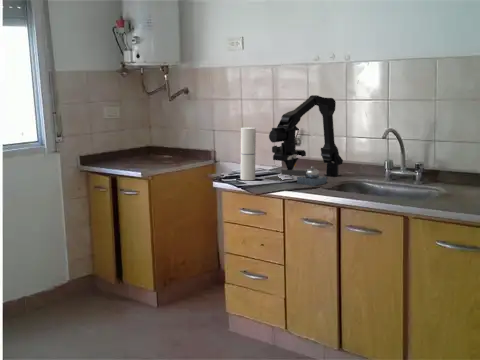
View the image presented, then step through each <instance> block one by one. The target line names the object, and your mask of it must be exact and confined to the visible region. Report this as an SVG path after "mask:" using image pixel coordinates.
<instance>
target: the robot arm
mask: <svg viewBox="0 0 480 360" xmlns="http://www.w3.org/2000/svg"><path fill="white" fill-rule="evenodd" d="M336 104H337V103H336V100H335V99H334V98H333V97H323V96H320V95H314V94H311V95H309V96H308V98H307V99H306V100H304V101H303V102H302V103H301V104H300V105H298V106H297V107H296V108H295V109H293V110H289V111H287V112H285V113H283V114H282V116H281V119H280V120H279V122H278V125H277V126H276V127H271V130H270V132H269V134H268V139H269V141H270V142H271V143H281V144H280V145H279V146H277V145H273V146H271V152H272V153H273V156H272V159H273V161H281V162H284V164H285V166H286V169H291V170H292V169H293V167H294V165H295V163H296V164H297V161H298V160H299V158H298V157H297V156H301V157H306V156H307V152H306V150H305V149H296V146H297V145H298V141H297V142H296V132H297V131H300V128H298V127H297V125H298V124H299V122H300V121H301V118H302V117H303V116H304V115H305V114H307V113H308V112H309V111H310V110H312V109H313V108H314V107H315V106H317V107H318V111H319V112H320V114H321V116H322V123H323V124H322V125H323V139H324V140H323V141H324V142H323V143H324V145H323V146H322V147H320V157H321V158H322V161H323V164H326V173H324V174H323V176H324V177H335V178H336V177H339V176H342V174H341V173H340V172H339V171H340V170H339V168H340V165H343V162H344V160H343V158H342V157H341V156H340V151H339V148H338V147H337V145H336V142H335V131H334V129H335V128H334V116H333V115H334V113H335V111H336ZM294 168H295V167H294Z"/></svg>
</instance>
